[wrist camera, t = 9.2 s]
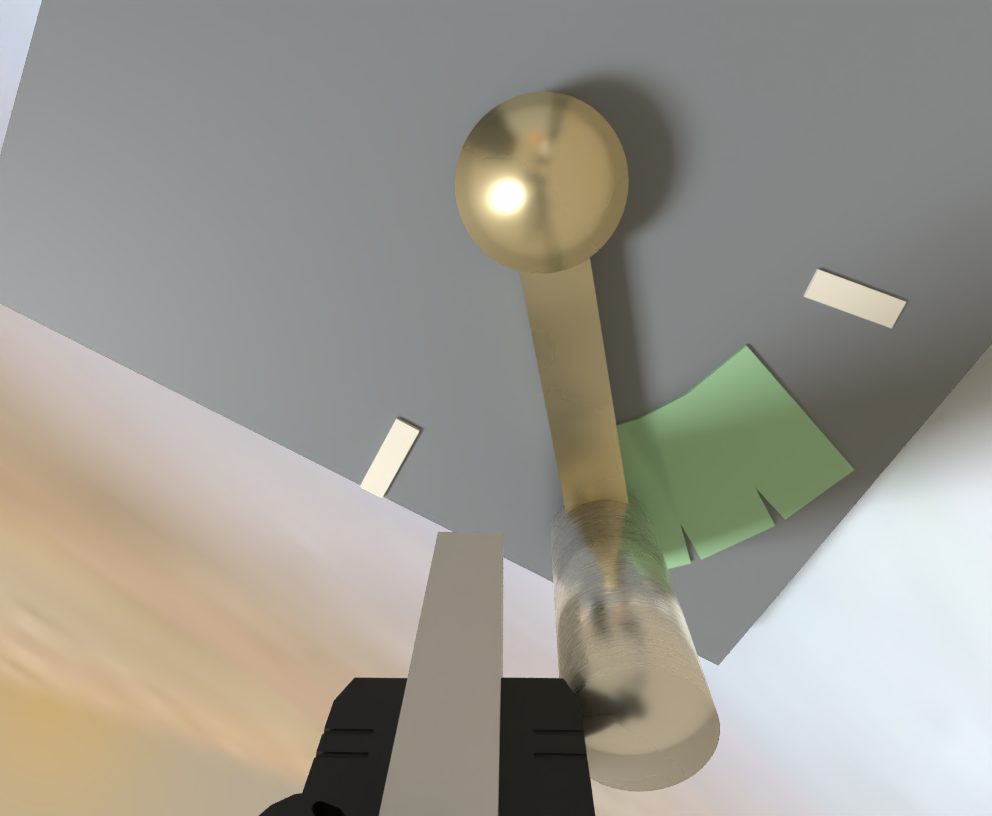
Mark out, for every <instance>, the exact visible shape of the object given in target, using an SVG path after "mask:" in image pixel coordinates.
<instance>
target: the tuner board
mask: <svg viewBox="0 0 992 816" xmlns="http://www.w3.org/2000/svg"><path fill="white" fill-rule="evenodd" d="M531 92H556V93H562V94H565V95H569V96H572V97H574V98H577V99H579V100H581V101H583V102H585V103H586V104H588V105H589V106H591V107H593V108H594V109H595V110H596V111H597V112H598V113H600V114H601V115H602V116H603V117H604V118H605V119H606V121H607V122H608V123H609V124H610V125H611V127H612V128H613V130H614V131H615V133H616V134H617V136H618V138H619V140H620V142H621V145H622V147H623V150H624V153H625V156H626V161H627V166H628V177H629V184H628V195H627V201H626V205H625V208H624V212H623V215H622V217H621V219H620V221H619V224H618V226H617V227H616V229H615V231H614V232H613V234H612V236H611V237H610V238H609V239H608V241H607V242H606V243H605V244H604V245H603V246H602V247H601V248H600V249H599V250H598V251H597V252H596V253H595V254H594V255H592V256H591V257H590V261H591V268H592V274H593V281H594V287H595V293H596V300H597V306H598V312H599V319H600V325H601V331H602V338H603V344H604V350H605V357H606V363H607V369H608V376H609V382H610V388H611V395H612V401H613V407H614V414H615V420H616V426H617V433H618V439H619V446H620V452H621V458H622V465H623V471H624V477H625V484H626V490H627V493H628V494H630V495H632V496H634V497H635V498H636V499H638V500H639V501H640V502H641V503H642V504H643V506H644V507H645V508H646V510H647V512H648V513H649V516H650V518H651V521H652V524H653V527H654V530H655V533H656V536H657V539H658V541H659V544H660V547H661V550H662V553H663V556H664V559H665V562H666V565H667V568H668V571H669V574H670V577H671V579H672V582H673V585H674V588H675V591H676V594H677V597H678V600H679V603H680V606H681V609H682V612H683V615H684V618H685V620H686V623H687V626H688V629H689V632H690V635H691V638H692V641H693V644H694V647H695V650H696V653H697V655H698V656H700V657H702V658H704V659H706V660H708V661H710V662H712V663H714V664H716V665H719V664H720V663H721V662H722V661H723V659H724V658H725V657H726V656H727V655H728V653H729V652H730V651H731V650H732V649H733V648H734V646H735V645H736V644H737V643H738V642H739V640H740V639H741V638H742V637H743V636H744V635H745V633H746V632H747V631H748V630H749V629H750V627H751V626H752V625H753V624H754V623H755V622H756V620H757V619H758V618H759V617H760V616H761V615H762V613H763V612H764V611H765V610H766V609H767V607H768V606H769V605H770V604H771V603H772V602H773V600H774V599H775V598H776V597H777V596H778V594H779V593H780V592H781V591H782V590H783V589H784V587H785V586H786V585H787V584H788V583H789V582H790V580H791V579H792V578H793V577H794V576H795V574H796V573H797V572H798V571H799V570H800V569H801V567H802V566H803V565H804V564H805V563H806V561H807V560H808V559H809V558H810V557H811V556H812V554H813V553H814V552H815V551H816V550H817V548H818V547H819V546H820V545H821V544H822V543H823V541H824V540H825V539H826V538H827V537H828V536H829V534H830V533H831V532H832V531H833V530H834V528H835V527H836V526H837V525H838V524H839V523H840V521H841V520H842V519H843V518H844V517H845V515H846V514H847V513H848V512H849V511H850V510H851V508H852V507H853V506H854V505H855V504H856V503H857V501H858V500H859V499H860V498H861V497H862V495H863V494H864V493H865V492H866V491H867V490H868V488H869V487H870V486H871V485H872V484H873V482H874V481H875V480H876V479H877V478H878V477H879V475H880V474H881V473H882V472H883V471H884V470H885V468H886V467H887V466H888V465H889V464H890V462H891V461H892V460H893V459H894V458H895V457H896V455H897V454H898V453H899V452H900V451H901V449H902V448H903V447H904V446H905V445H906V444H907V442H908V441H909V440H910V439H911V438H912V436H913V435H914V434H915V433H916V432H917V431H918V429H919V428H920V427H921V426H922V425H923V424H924V422H925V421H926V420H927V419H928V418H929V416H930V415H931V414H932V413H933V412H934V411H935V409H936V408H937V407H938V406H939V405H940V403H941V402H942V401H943V400H944V399H945V398H946V396H947V395H948V394H949V393H950V392H951V391H952V389H953V388H954V387H955V386H956V385H957V383H958V382H959V381H960V380H961V379H962V378H963V376H964V375H965V374H966V373H967V372H968V370H969V369H970V368H971V367H972V366H973V365H974V363H975V362H976V361H977V360H978V359H979V357H980V356H981V355H982V354H983V353H984V352H985V350H986V349H987V348H988V347H989V346H990V345H991V343H992V0H42V2H41V6H40V10H39V14H38V17H37V21H36V25H35V28H34V32H33V36H32V40H31V43H30V47H29V51H28V54H27V58H26V62H25V65H24V69H23V73H22V77H21V80H20V84H19V88H18V91H17V95H16V99H15V102H14V106H13V110H12V114H11V117H10V121H9V125H8V128H7V132H6V136H5V140H4V143H3V147H2V151H1V154H0V304H2V305H4V306H6V307H8V308H10V309H12V310H14V311H16V312H18V313H20V314H22V315H24V316H26V317H28V318H30V319H32V320H34V321H36V322H38V323H40V324H42V325H44V326H46V327H48V328H50V329H52V330H54V331H56V332H58V333H60V334H62V335H64V336H66V337H68V338H70V339H72V340H73V341H75V342H77V343H79V344H81V345H83V346H85V347H87V348H89V349H91V350H93V351H95V352H97V353H99V354H101V355H103V356H105V357H107V358H109V359H111V360H113V361H115V362H117V363H119V364H121V365H123V366H125V367H127V368H129V369H131V370H133V371H135V372H137V373H139V374H141V375H143V376H145V377H147V378H149V379H151V380H153V381H155V382H157V383H159V384H161V385H163V386H165V387H167V388H169V389H171V390H173V391H175V392H177V393H179V394H181V395H183V396H185V397H187V398H189V399H191V400H193V401H195V402H197V403H198V404H200V405H202V406H204V407H206V408H208V409H210V410H212V411H214V412H216V413H218V414H220V415H222V416H224V417H226V418H228V419H230V420H232V421H234V422H236V423H238V424H240V425H242V426H244V427H246V428H248V429H250V430H252V431H254V432H256V433H258V434H260V435H262V436H264V437H266V438H268V439H270V440H272V441H274V442H276V443H278V444H280V445H282V446H284V447H286V448H288V449H290V450H292V451H294V452H296V453H298V454H300V455H302V456H304V457H306V458H308V459H310V460H312V461H314V462H316V463H318V464H320V465H322V466H323V467H325V468H327V469H329V470H331V471H333V472H335V473H337V474H339V475H341V476H343V477H345V478H347V479H349V480H351V481H353V482H355V483H357V484H359V485H360V488H362V489H364V490H366V491H368V492H370V493H372V494H374V495H376V496H378V497H380V498H383V497H385V498H387V499H389V500H391V501H393V502H395V503H397V504H399V505H401V506H403V507H405V508H407V509H409V510H411V511H413V512H415V513H417V514H419V515H421V516H423V517H425V518H427V519H429V520H431V521H433V522H435V523H437V524H439V525H441V526H443V527H445V528H446V529H448V530H450V531H452V532H467V533H503V557H504V558H506V559H508V560H510V561H512V562H514V563H516V564H518V565H520V566H522V567H524V568H526V569H528V570H530V571H532V572H534V573H536V574H538V575H540V576H542V577H544V578H546V579H548V580H550V581H552V582H553V567H552V551H551V524H552V521H553V518H554V516H555V514H556V512H557V511H558V509H559V508H560V506H561V505H562V504H563V503H564V499H563V493H562V488H561V483H560V478H559V473H558V467H557V462H556V457H555V452H554V447H553V442H552V436H551V431H550V426H549V421H548V416H547V410H546V405H545V400H544V395H543V390H542V384H541V379H540V374H539V369H538V364H537V358H536V353H535V348H534V343H533V338H532V333H531V327H530V322H529V317H528V312H527V307H526V301H525V296H524V291H523V286H522V281H521V275H520V271H517V270H513V269H511V268H508V267H506V266H504V265H502V264H500V263H498V262H497V261H495V260H493V259H492V258H491V257H489V256H488V255H487V254H486V253H484V252H483V251H482V250H481V249H480V248H479V247H478V246H477V244H476V243H475V242H474V240H473V239H472V238H471V237H470V235H469V233H468V232H467V230H466V228H465V226H464V224H463V222H462V219H461V217H460V214H459V210H458V207H457V202H456V195H455V174H456V167H457V163H458V158H459V155H460V152H461V150H462V147H463V145H464V143H465V141H466V139H467V137H468V135H469V134H470V132H471V131H472V129H473V128H474V126H475V125H476V124H477V123H478V122H479V121H480V120H481V118H482V117H483V116H484V115H486V114H487V113H488V112H489V111H490V110H491V109H493V108H494V107H496V106H497V105H499V104H500V103H502V102H504V101H506V100H508V99H510V98H512V97H515V96H518V95H522V94H525V93H531Z"/></svg>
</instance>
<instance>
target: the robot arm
mask: <svg viewBox="0 0 992 816" xmlns="http://www.w3.org/2000/svg"><path fill="white" fill-rule="evenodd" d="M259 816H595V811H594V803H593V796H592V788H591V781H590V773H589V766H588V760H587V751H586V744H585V736H584V729H583V721H582V714H581V706H580V702H579V700H578V699H577V697H576V696H575V694H574V693H573V691H572V690H571V688H570V687H569V685H568V684H567V683H566V681H565V680H564V678H503V533H467V532H438V535H437V540H436V544H435V549H434V554H433V559H432V564H431V568H430V573H429V578H428V583H427V587H426V592H425V597H424V602H423V607H422V611H421V616H420V621H419V626H418V630H417V635H416V640H415V645H414V650H413V654H412V659H411V664H410V669H409V673H408V678H354V679H353V680H352V681H351V682H350V684H349V685H348V686H347V687H346V688H345V689H344V690H343V691H342V692H341V694H340V695H339V696H338V697H337V698H336V699H335V700H334V702H333V705H332V708H331V711H330V714H329V716H328V719H327V722H326V725H325V728H324V734H322V737H321V740H320V743H319V746H318V749H317V752H316V758H314V760H313V763H312V766H311V769H310V772H309V775H308V778H307V781H306V784H305V787H304V790H303V793H301V794H294V795H292V796H290V797H288V798H285V799H283V800H281V801H279V802H277V803H275V804H273V805H271V806H270V807H268V808H267V809H266V810H265V811H264V812H263V813H261V814H260V815H259Z"/></svg>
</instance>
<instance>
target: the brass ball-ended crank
mask: <svg viewBox="0 0 992 816" xmlns="http://www.w3.org/2000/svg"><path fill="white" fill-rule="evenodd" d="M628 184H629V177H628V166H627V161H626V156H625V153H624V150H623V147H622V145H621V142H620V140H619V138H618V136H617V134H616V133H615V131H614V130H613V128H612V127H611V125H610V124H609V123H608V122H607V121H606V119H605V118H604V117H603V116H602V115H601V114H600V113H598V112H597V111H596V110H595V109H594V108H593V107H591V106H589V105H588V104H586V103H585V102H583V101H581V100H579V99H577V98H574V97H572V96H569V95H565V94H562V93H556V92H531V93H525V94H522V95H518V96H515V97H512V98H510V99H508V100H506V101H504V102H502V103H500V104H499V105H497V106H496V107H494V108H493V109H491V110H490V111H489V112H488V113H487V114H486V115H484V116H483V117H482V118H481V120H480V121H479V122H478V123H477V124H476V125H475V126H474V128H473V129H472V131H471V132H470V134H469V135H468V137H467V139H466V141H465V143H464V145H463V147H462V150H461V152H460V155H459V158H458V163H457V167H456V174H455V195H456V202H457V207H458V210H459V214H460V217H461V219H462V222H463V224H464V226H465V228H466V230H467V232H468V233H469V235H470V237H471V238H472V239H473V240H474V242H475V243H476V244H477V246H478V247H479V248H480V249H481V250H482V251H483V252H484V253H486V254H487V255H488V256H489V257H491V258H492V259H493V260H495V261H497V262H498V263H500V264H502V265H504V266H506V267H508V268H511V269H513V270H517V271H520V275H521V281H522V286H523V291H524V296H525V301H526V307H527V312H528V317H529V322H530V327H531V333H532V338H533V343H534V348H535V353H536V358H537V364H538V369H539V374H540V379H541V384H542V390H543V395H544V400H545V405H546V410H547V416H548V421H549V426H550V431H551V436H552V442H553V447H554V452H555V457H556V462H557V467H558V473H559V478H560V483H561V488H562V493H563V499H564V503H563V504H562V505H561V506H560V508H559V509H558V511H557V512H556V514H555V516H554V518H553V521H552V524H551V551H552V567H553V584H554V600H555V617H556V633H557V650H558V666H559V678H564V680H565V681H566V683H567V684H568V685H569V687H570V688H571V690H572V691H573V693H574V694H575V696H576V697H577V699H578V700H579V702H580V706H581V714H582V721H583V729H584V736H585V744H586V751H587V760H588V766H589V773H590V778H591V779H593V780H595V781H597V782H599V783H601V784H603V785H606V786H609V787H612V788H616V789H620V790H627V791H652V790H658V789H663V788H667V787H670V786H673V785H675V784H678V783H680V782H682V781H684V780H686V779H688V778H690V777H691V776H693V775H694V774H696V773H697V772H698V771H699V770H700V769H701V768H703V766H704V765H705V764H706V763H707V762H708V761H709V759H710V758H711V756H712V755H713V753H714V751H715V749H716V747H717V744H718V741H719V735H720V723H719V718H718V714H717V711H716V708H715V705H714V702H713V699H712V697H711V694H710V691H709V688H708V685H707V682H706V679H705V676H704V673H703V670H702V667H701V664H700V661H699V659H698V656H697V653H696V650H695V647H694V644H693V641H692V638H691V635H690V632H689V629H688V626H687V623H686V620H685V618H684V615H683V612H682V609H681V606H680V603H679V600H678V597H677V594H676V591H675V588H674V585H673V582H672V579H671V577H670V574H669V571H668V568H667V565H666V562H665V559H664V556H663V553H662V550H661V547H660V544H659V541H658V539H657V536H656V533H655V530H654V527H653V524H652V521H651V518H650V516H649V513H648V512H647V510H646V508H645V507H644V506H643V504H642V503H641V502H640V501H639V500H638V499H636V498H635V497H634V496H632V495H630V494H628V493H627V490H626V484H625V477H624V471H623V465H622V458H621V452H620V446H619V439H618V433H617V426H616V420H615V414H614V407H613V401H612V395H611V388H610V382H609V376H608V369H607V363H606V357H605V350H604V344H603V338H602V331H601V325H600V319H599V312H598V306H597V300H596V293H595V287H594V281H593V274H592V268H591V261H590V257H591V256H592V255H594V254H595V253H596V252H597V251H598V250H599V249H600V248H601V247H602V246H603V245H604V244H605V243H606V242H607V241H608V239H609V238H610V237H611V236H612V234H613V232H614V231H615V229H616V227H617V226H618V224H619V221H620V219H621V217H622V215H623V212H624V208H625V205H626V201H627V195H628Z"/></svg>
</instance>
